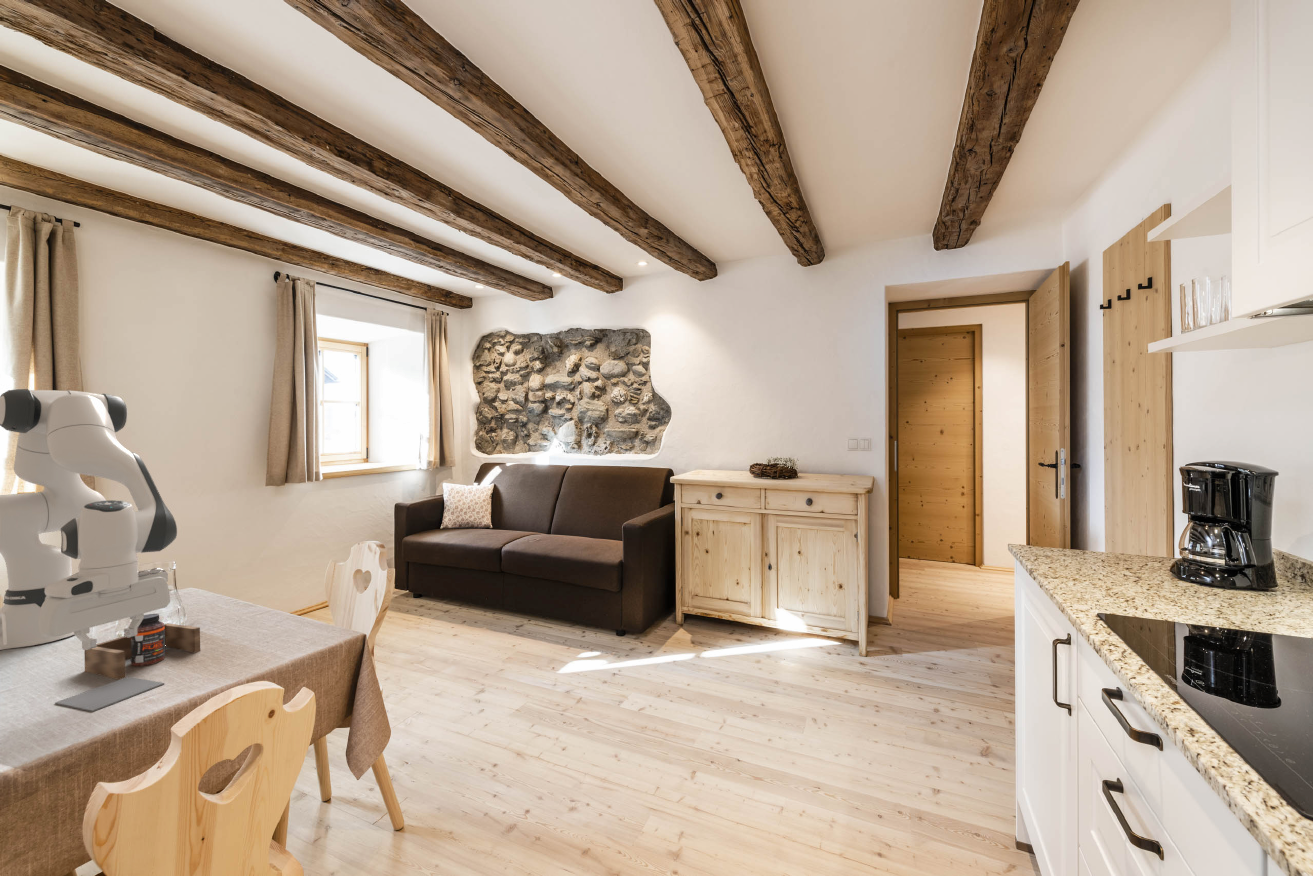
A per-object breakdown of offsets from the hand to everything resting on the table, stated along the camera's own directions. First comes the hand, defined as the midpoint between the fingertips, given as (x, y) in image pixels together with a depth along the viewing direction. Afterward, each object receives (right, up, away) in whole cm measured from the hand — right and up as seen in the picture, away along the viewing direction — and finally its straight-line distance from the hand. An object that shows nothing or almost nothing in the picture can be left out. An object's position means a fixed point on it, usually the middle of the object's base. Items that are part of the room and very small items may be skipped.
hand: (110, 642), depth 112 cm
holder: (-8, -11, +16) cm, 21 cm away
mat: (0, -11, 0) cm, 11 cm away
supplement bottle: (-7, -11, +16) cm, 21 cm away
